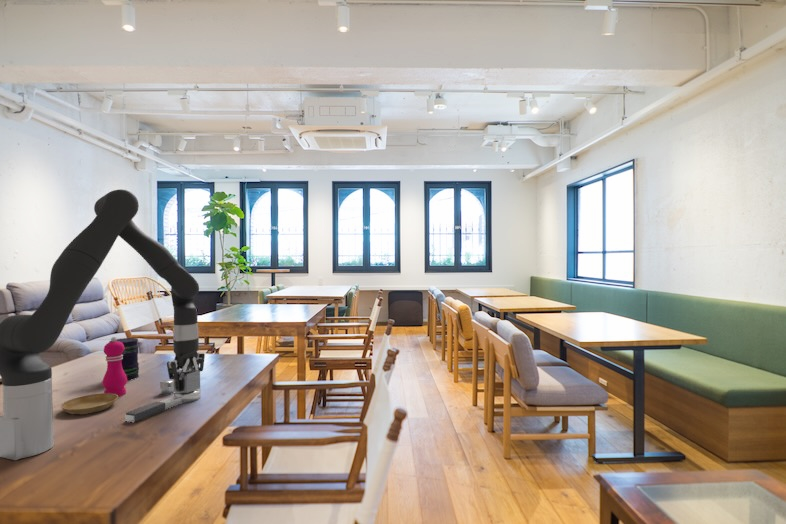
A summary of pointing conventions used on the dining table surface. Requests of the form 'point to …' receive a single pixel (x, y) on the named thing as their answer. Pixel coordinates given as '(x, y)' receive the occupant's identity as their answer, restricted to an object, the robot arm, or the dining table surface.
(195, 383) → the socket
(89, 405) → the plant saucer
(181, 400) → the ratchet
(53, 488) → the dining table surface
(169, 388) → the socket
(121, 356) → the pepper mill
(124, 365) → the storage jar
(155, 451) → the dining table surface
